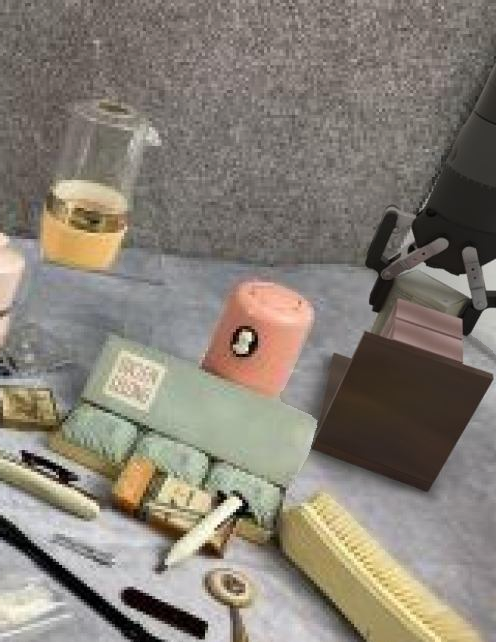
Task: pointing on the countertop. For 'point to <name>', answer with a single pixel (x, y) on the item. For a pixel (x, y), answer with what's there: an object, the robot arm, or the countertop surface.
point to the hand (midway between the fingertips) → (414, 321)
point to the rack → (401, 397)
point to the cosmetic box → (420, 296)
